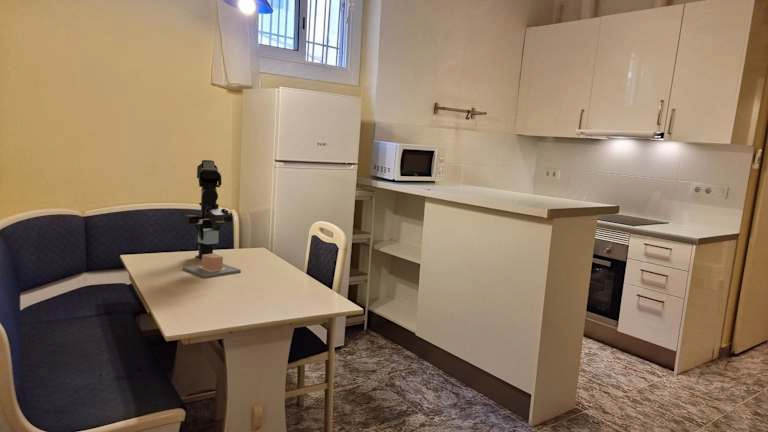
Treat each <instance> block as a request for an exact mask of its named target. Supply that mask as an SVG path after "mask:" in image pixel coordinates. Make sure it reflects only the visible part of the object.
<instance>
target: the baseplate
mask: <svg viewBox="0 0 768 432" xmlns="http://www.w3.org/2000/svg"><path fill="white" fill-rule="evenodd" d="M182 270H184V271H185V272H188V273H190V274H193V275H195V276H197V277H201V278H203V279H208V278H214V277H220V276H226V275H231V274H232V275H233V274H238V273H239V274H240V273H241V271H242V270H241V269H240V268H237V267H234V266H231V265H229V264H226V263H223V268H222V269H219V270H212V271H211V270H208V269H206V268H203V267H202V263H201V264H195V265H187V266H186V265H185V266H182Z"/></svg>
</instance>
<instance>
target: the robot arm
mask: <svg viewBox="0 0 768 432" xmlns="http://www.w3.org/2000/svg"><path fill="white" fill-rule="evenodd" d="M196 179H198V187H201V191H200V192H201V193H200V194H201V195H200V196H201V197H200V202H199V203H198V204H199V206H200V212H199V214H198V215H195V214H187V215H186V214H184V215H183V216H182V223H185V224H189V225H193V227H194V228H195V245H196V246H198V255H195V256H194V257H195V258H197V259H200V260H202V255H204V254H212V253H214V246H216V245H218V243H216V244H204V243H201V242H198V235H199V237H200V240H201V241H203V229H207V228H210V229H214V230H217V231H220V229H221V227H222V226H223V225H225V224H226V223H227V222H228V223H229V222H233V220H234V217H233V215H232V214H230V213H229V209H228V208H220V207H219V204H218V203H217V201H218V199H219V194H218V189H217V188H221V186H222V175H221V172H220V171H219V170H218V166H217V165H216V164H215V161H214V160H213V159H212V160H211V159H209V160H207V159H203V160H201V163H200V164H199V165H197V168H196Z"/></svg>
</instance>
